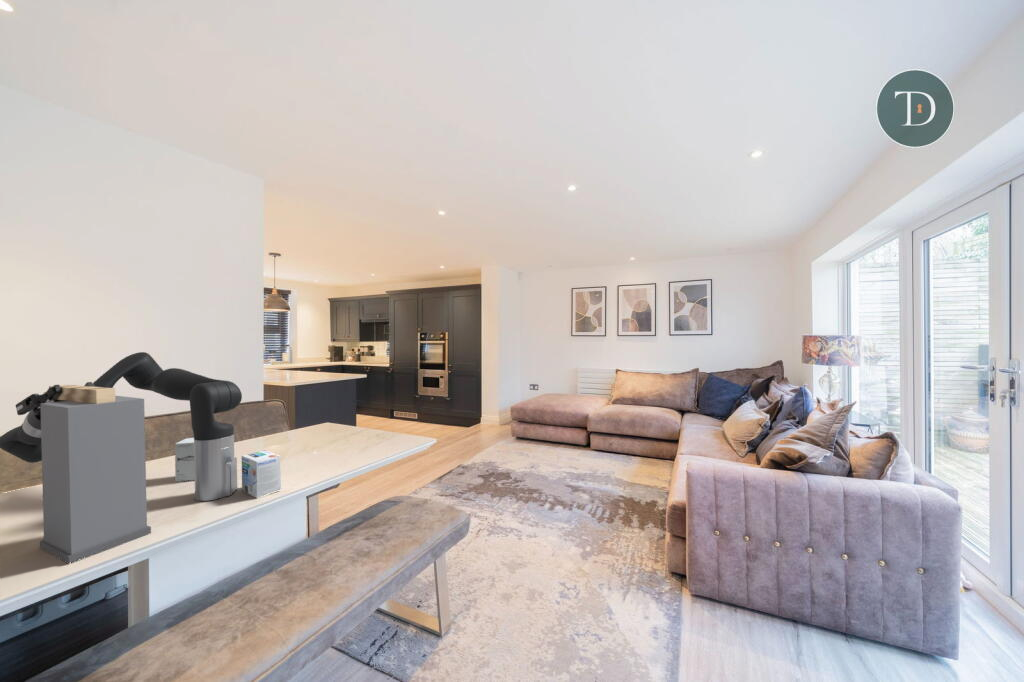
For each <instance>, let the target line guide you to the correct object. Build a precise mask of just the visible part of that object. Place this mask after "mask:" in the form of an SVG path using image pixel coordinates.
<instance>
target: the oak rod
mask: <svg viewBox="0 0 1024 682" xmlns="http://www.w3.org/2000/svg"><path fill="white" fill-rule="evenodd" d="M59 385H60V384H59ZM53 386H54V385H49V386H48V389H49V388H50V387H53ZM60 389H61V393H60V395H59V396H58V397H57V398H56V399H57V400H66V401H75V402H85V403H94V404H99V403H107V402H115V396H116V388H115V387H113V388H105V387H92V386H84V385H79V384H78V385H76V384H61V385H60Z"/></svg>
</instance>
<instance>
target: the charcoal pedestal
mask: <svg viewBox="0 0 1024 682" xmlns="http://www.w3.org/2000/svg"><path fill="white" fill-rule="evenodd" d="M40 405H41V445H42V461H41V476H42V477H41V478H42V481H41V482H42V484H41V485H42V518H43V520H42V521H43V540H40V541H39V549H41V550H42V551H45V552H46V553H48V554H50V555H51V554H52V556H53V557H55V556H56V557H55V558H57V557H58V558H57V559H59V558H60V559H59V560H61V559H62V560H61V561H63V560H64V561H66V562H68V563H70V562H73V561H76V560H79V559H81V558H84V557H87V558H89V557H92V556H94V555H97V554H99V553H102V552H105V551H108V550H109V549H112V548H115V546H116V547H118V546H120V544H121V545H124V544H126V543H129V542H132V541H133V540H137V539H139V538H142V537H145V536H147V535H150V534H152V526H149V525H148V513H147V512H148V511H147V508H148V507H147V505H148V504H147V471H146V469H147V468H146V465H147V463H146V425H145V424H146V423H145V416H146V415H145V398H140V397H133V396H132V397H131V396H121V395H115V402H107V403H99V404H94V403H85V402H75V401H61V402H51V403H42V404H40ZM149 533H150V534H149ZM123 543H124V544H123ZM117 545H118V546H117ZM91 555H92V556H91ZM88 556H89V557H88ZM84 559H85V558H84ZM81 560H82V559H81ZM64 561H63V562H64ZM79 561H80V560H79ZM66 562H65V563H66ZM76 562H77V561H76ZM68 563H67V564H68ZM73 563H74V562H73Z"/></svg>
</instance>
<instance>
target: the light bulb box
mask: <svg viewBox="0 0 1024 682" xmlns="http://www.w3.org/2000/svg"><path fill="white" fill-rule="evenodd" d="M281 471H282V470H281V455H279V454H276V453H273V452H271V451H267V450H259V451H256V452H252V453H249V454H244V455H241V491H242V490H243V491H242V492H244V491H245V492H244V493H246V492H247V493H246V494H248V493H249V494H250V496H251V495H252V496H251V497H253V496H254V497H253V498H255V497H256V498H255V499H257V498H258V497H261V496H264V495H266V494H268V493H271V492H274V491H277V490H280V489H281V490H282V483H281V482H282V480H281V476H282V475H281ZM249 494H248V495H249ZM264 497H265V496H264ZM261 498H262V497H261ZM258 499H259V498H258Z"/></svg>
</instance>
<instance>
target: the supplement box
mask: <svg viewBox="0 0 1024 682" xmlns="http://www.w3.org/2000/svg"><path fill="white" fill-rule="evenodd" d="M174 445H175V447H174V449H175V450H174V451H175V452H174V456H175V457H174V460H175V464H174V466H175V467H174V468H175V472H174V475H175V476H174V477H175V479H174V480H175V483H177V482H188V480H189V481H195V469H194V437H187V438H184V439H182V440H180V441H178V442H176V443H174Z"/></svg>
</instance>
